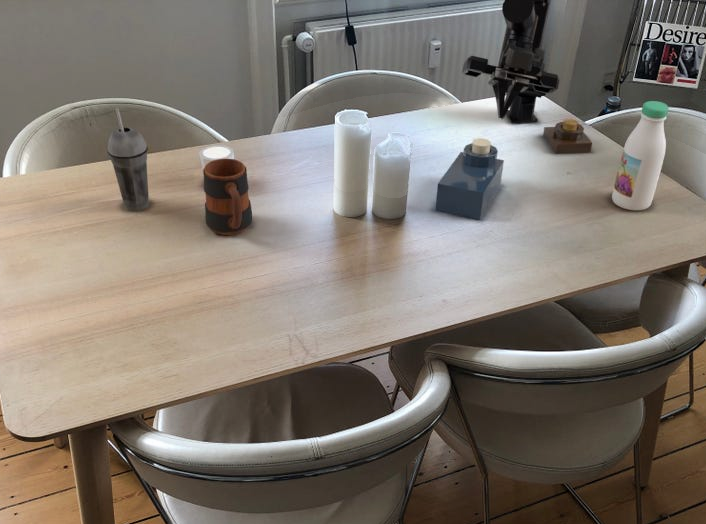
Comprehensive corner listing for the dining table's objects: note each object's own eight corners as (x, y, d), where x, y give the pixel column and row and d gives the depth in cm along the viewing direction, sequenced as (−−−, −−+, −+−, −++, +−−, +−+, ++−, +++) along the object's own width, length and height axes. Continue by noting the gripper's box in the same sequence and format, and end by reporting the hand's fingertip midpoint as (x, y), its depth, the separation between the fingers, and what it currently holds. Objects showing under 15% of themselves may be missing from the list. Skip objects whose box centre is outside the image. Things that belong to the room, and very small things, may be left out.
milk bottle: (647, 194, 168) (673, 98, 155) (654, 212, 162) (682, 114, 149) (608, 191, 169) (631, 95, 156) (614, 210, 163) (638, 112, 150)
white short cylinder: (474, 146, 166) (475, 136, 165) (491, 149, 165) (493, 140, 164) (469, 153, 164) (470, 144, 163) (486, 157, 163) (488, 147, 161)
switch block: (542, 136, 189) (545, 119, 186) (576, 134, 189) (579, 118, 187) (555, 153, 182) (558, 136, 179) (590, 152, 183) (594, 135, 180)
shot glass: (243, 184, 168) (241, 152, 164) (217, 195, 164) (214, 163, 160) (221, 173, 172) (218, 141, 167) (195, 184, 168) (191, 152, 163)
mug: (217, 249, 149) (212, 191, 142) (201, 217, 158) (195, 161, 150) (263, 240, 152) (260, 182, 144) (245, 210, 160) (241, 153, 153)
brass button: (559, 126, 184) (561, 118, 183) (573, 125, 185) (575, 118, 184) (564, 132, 182) (566, 124, 181) (578, 131, 182) (580, 124, 181)
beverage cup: (162, 200, 163) (148, 101, 150) (143, 217, 157) (127, 116, 145) (130, 193, 164) (113, 95, 152) (110, 210, 159) (91, 110, 146)
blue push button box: (459, 175, 173) (463, 139, 168) (501, 183, 170) (507, 147, 165) (435, 210, 161) (438, 172, 156) (479, 220, 159) (485, 182, 154)
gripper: (481, 18, 156) (462, 102, 158) (576, 39, 157) (557, 122, 160) (470, 32, 167) (453, 110, 169) (559, 52, 168) (541, 130, 171)
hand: (500, 118), depth 167 cm, fingers closed
